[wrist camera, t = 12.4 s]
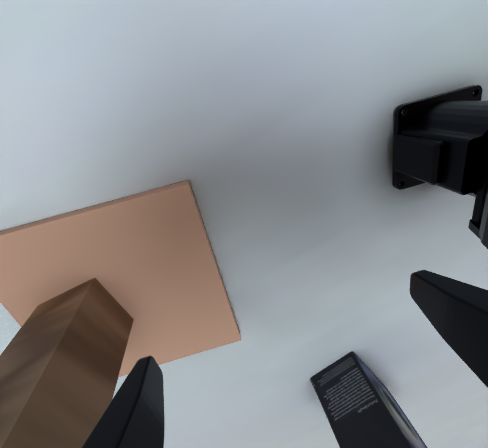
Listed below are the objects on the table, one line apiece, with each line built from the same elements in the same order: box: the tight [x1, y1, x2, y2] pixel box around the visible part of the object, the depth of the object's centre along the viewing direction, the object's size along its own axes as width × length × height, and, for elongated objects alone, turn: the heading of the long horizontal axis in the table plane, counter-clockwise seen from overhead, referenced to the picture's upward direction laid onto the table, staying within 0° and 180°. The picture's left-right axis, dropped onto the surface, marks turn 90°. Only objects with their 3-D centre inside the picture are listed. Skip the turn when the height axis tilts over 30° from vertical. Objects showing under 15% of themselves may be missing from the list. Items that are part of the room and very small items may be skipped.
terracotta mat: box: [0, 180, 241, 377], centre depth 22 cm, size 16×16×1 cm
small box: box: [310, 352, 427, 448], centre depth 29 cm, size 11×6×10 cm, turn 38°
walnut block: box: [0, 278, 134, 448], centre depth 16 cm, size 5×5×13 cm
